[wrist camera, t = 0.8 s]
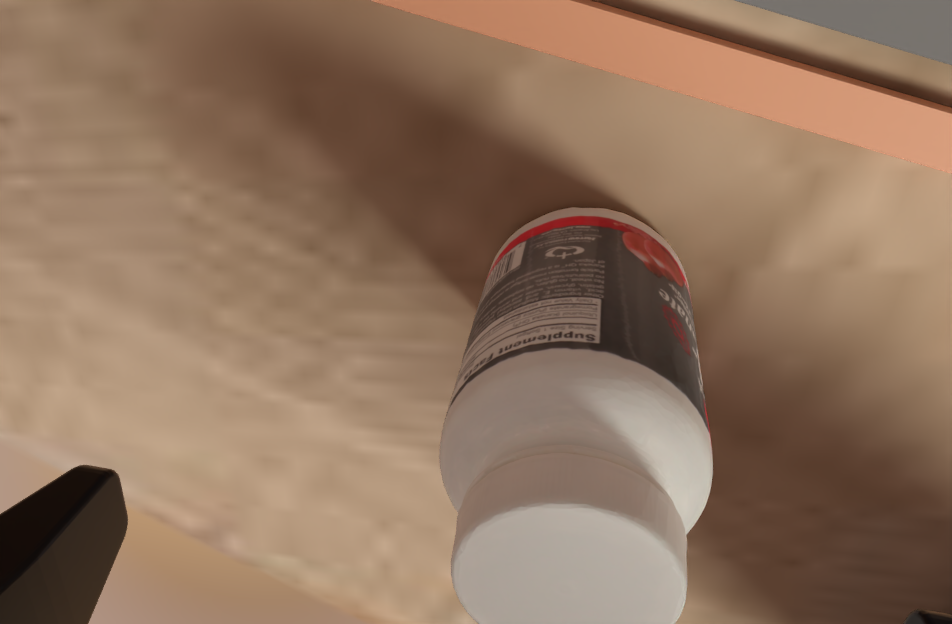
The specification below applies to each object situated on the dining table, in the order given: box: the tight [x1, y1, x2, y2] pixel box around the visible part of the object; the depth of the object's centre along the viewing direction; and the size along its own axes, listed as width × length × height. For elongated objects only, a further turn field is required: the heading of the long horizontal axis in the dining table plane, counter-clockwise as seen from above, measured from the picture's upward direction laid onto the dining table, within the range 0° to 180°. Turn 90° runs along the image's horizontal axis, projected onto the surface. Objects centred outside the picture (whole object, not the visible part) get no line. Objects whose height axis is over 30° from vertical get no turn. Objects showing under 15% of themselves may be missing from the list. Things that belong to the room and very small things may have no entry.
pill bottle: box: [439, 207, 713, 624], centre depth 17 cm, size 5×5×10 cm
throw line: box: [370, 0, 952, 174], centre depth 18 cm, size 1×20×1 cm, turn 76°
